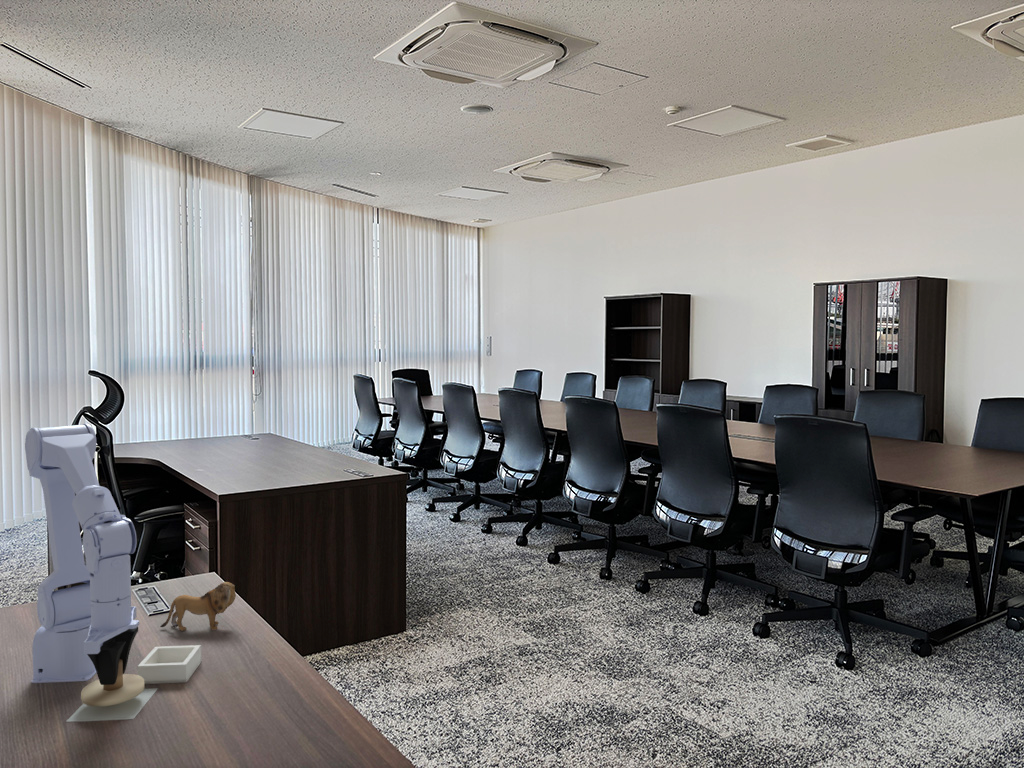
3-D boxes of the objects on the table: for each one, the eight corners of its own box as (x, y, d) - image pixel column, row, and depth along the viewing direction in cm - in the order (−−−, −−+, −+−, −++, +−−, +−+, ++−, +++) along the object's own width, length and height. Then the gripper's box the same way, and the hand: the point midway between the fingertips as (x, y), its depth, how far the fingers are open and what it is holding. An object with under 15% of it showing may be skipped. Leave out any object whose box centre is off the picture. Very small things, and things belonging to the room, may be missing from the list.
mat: (65, 724, 113) (65, 721, 113) (95, 693, 123) (95, 690, 123) (133, 721, 114) (133, 718, 114) (157, 690, 124) (157, 688, 124)
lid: (70, 707, 114) (69, 676, 113) (97, 680, 123) (96, 651, 122) (130, 705, 115) (130, 674, 114) (153, 678, 124) (152, 649, 123)
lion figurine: (237, 619, 156) (237, 577, 155) (234, 629, 151) (233, 586, 150) (163, 625, 153) (162, 582, 152) (156, 635, 147) (155, 591, 147)
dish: (137, 686, 126) (137, 666, 126) (155, 665, 134) (155, 646, 133) (186, 684, 127) (186, 664, 126) (201, 663, 134) (200, 645, 134)
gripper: (117, 612, 111) (119, 699, 112) (154, 580, 125) (155, 658, 126) (68, 613, 110) (70, 701, 111) (110, 581, 124) (112, 659, 125)
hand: (112, 678), depth 118 cm, fingers closed on lid, 3 cm apart
